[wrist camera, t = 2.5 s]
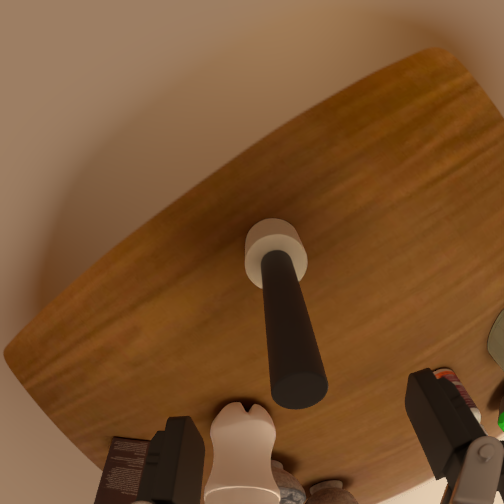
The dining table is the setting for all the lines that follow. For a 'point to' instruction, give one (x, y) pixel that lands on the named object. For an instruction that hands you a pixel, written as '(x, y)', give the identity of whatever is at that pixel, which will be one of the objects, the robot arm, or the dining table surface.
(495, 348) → the jar
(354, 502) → the pottery
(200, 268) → the dining table surface
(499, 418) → the green rounded lump
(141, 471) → the box
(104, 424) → the dining table surface
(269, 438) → the water bottle
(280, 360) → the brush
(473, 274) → the dining table surface
